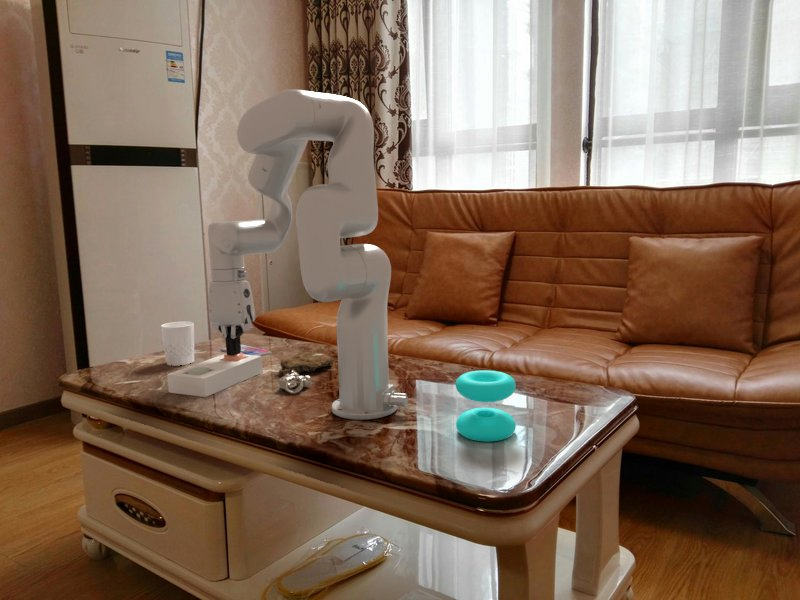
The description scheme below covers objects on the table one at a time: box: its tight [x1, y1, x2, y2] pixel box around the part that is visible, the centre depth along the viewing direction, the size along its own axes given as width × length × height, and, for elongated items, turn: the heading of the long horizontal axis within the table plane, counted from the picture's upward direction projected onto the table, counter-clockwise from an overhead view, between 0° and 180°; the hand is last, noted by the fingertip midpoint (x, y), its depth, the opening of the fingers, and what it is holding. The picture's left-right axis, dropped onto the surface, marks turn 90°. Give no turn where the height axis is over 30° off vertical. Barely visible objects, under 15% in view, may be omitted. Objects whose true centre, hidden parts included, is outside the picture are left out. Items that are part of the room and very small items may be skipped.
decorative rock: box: [279, 351, 335, 376], centre depth 150 cm, size 11×4×15 cm
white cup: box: [160, 320, 195, 367], centre depth 159 cm, size 8×8×10 cm
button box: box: [166, 352, 264, 398], centre depth 141 cm, size 10×20×4 cm, turn 157°
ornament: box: [278, 371, 312, 395], centre depth 134 cm, size 8×7×4 cm
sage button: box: [188, 367, 209, 376], centre depth 135 cm, size 4×4×4 cm
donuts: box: [455, 369, 517, 443], centre depth 106 cm, size 10×10×10 cm
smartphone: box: [220, 344, 272, 357], centre depth 169 cm, size 7×1×15 cm
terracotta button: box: [223, 352, 244, 362], centre depth 146 cm, size 4×4×4 cm
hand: (233, 353), depth 146 cm, fingers closed
